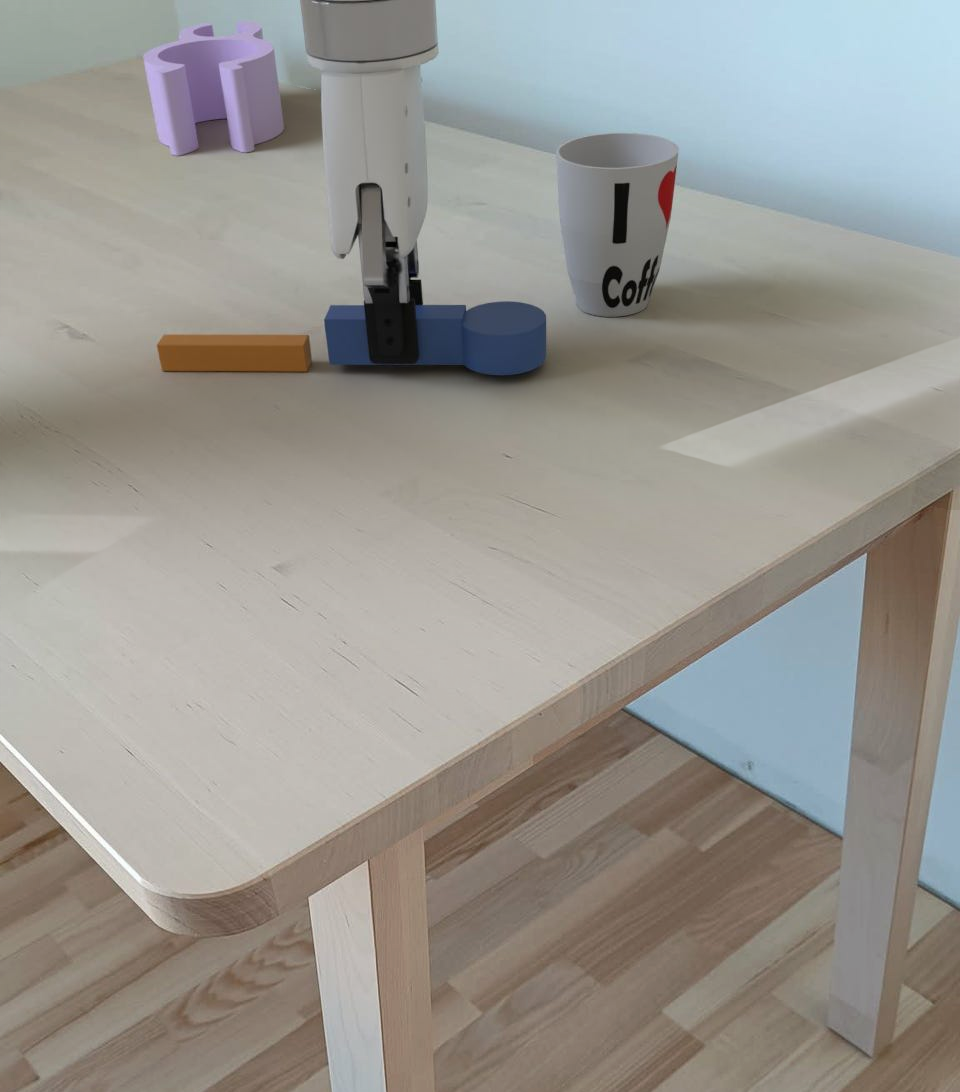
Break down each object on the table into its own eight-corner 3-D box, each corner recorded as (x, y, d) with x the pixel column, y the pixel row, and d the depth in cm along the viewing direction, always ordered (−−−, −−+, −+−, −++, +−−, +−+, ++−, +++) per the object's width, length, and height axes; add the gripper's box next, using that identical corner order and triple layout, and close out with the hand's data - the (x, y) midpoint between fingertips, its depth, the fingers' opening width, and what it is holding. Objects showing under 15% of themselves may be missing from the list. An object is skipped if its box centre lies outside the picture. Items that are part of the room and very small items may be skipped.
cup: (601, 335, 87) (605, 176, 80) (533, 300, 92) (532, 148, 85) (692, 306, 90) (704, 151, 83) (621, 273, 95) (627, 125, 88)
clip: (178, 100, 136) (164, 24, 131) (294, 95, 136) (285, 19, 131) (146, 157, 122) (130, 74, 117) (276, 150, 121) (265, 67, 117)
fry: (161, 371, 86) (156, 344, 84) (168, 360, 87) (163, 333, 86) (307, 372, 85) (303, 345, 84) (312, 360, 86) (308, 334, 85)
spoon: (324, 375, 83) (319, 329, 81) (339, 340, 87) (334, 295, 85) (544, 375, 82) (543, 328, 79) (548, 340, 86) (548, 294, 83)
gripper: (330, -2, 77) (361, 305, 90) (275, 65, 66) (320, 405, 79) (452, -5, 77) (466, 305, 90) (417, 61, 65) (440, 406, 78)
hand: (397, 349), depth 84 cm, fingers closed on spoon, 2 cm apart
